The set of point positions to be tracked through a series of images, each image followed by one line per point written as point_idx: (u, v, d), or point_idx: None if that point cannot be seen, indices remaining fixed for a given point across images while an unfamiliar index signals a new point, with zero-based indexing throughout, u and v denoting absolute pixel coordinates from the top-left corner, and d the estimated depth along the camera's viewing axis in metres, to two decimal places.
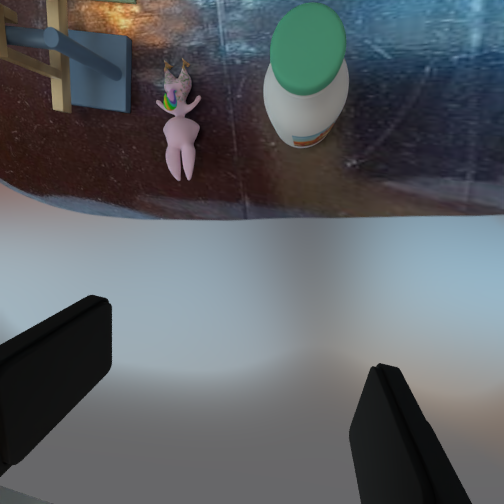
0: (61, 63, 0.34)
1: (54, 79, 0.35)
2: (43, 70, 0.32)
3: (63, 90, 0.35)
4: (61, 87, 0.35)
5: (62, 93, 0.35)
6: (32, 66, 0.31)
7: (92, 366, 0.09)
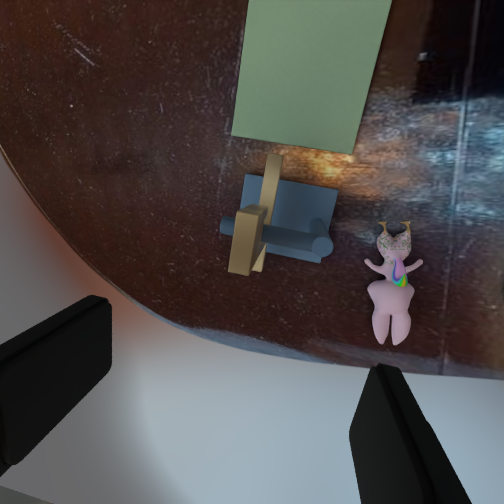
0: None
1: None
2: (263, 246, 0.28)
3: (265, 251, 0.31)
4: (263, 249, 0.30)
5: (264, 254, 0.31)
6: (261, 250, 0.26)
7: (92, 366, 0.09)
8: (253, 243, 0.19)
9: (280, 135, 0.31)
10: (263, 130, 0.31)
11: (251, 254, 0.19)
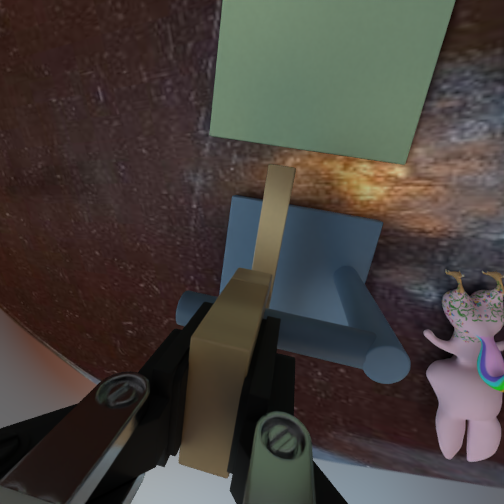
0: (273, 284, 0.18)
1: None
2: None
3: None
4: None
5: None
6: None
7: None
8: None
9: (286, 135, 0.19)
10: (259, 126, 0.19)
11: None
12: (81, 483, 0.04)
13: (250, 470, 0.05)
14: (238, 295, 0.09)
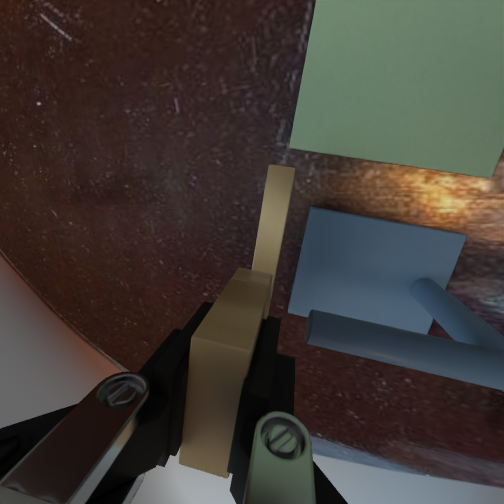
0: (273, 284, 0.18)
1: None
2: None
3: None
4: None
5: None
6: None
7: None
8: None
9: (370, 148, 0.19)
10: (342, 139, 0.19)
11: None
12: (81, 483, 0.04)
13: (250, 470, 0.05)
14: (238, 295, 0.09)
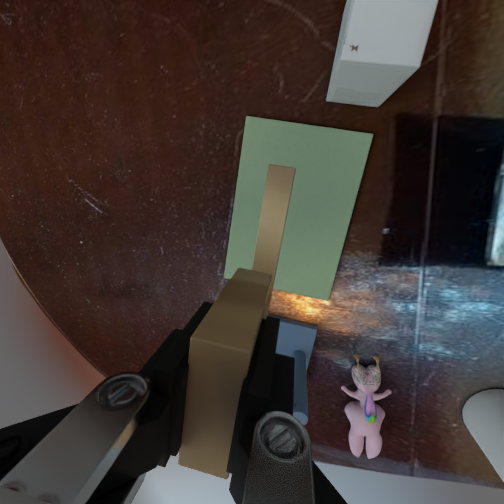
0: (273, 284, 0.18)
1: None
2: None
3: None
4: None
5: None
6: None
7: None
8: None
9: None
10: None
11: None
12: (82, 483, 0.04)
13: (249, 470, 0.05)
14: (238, 295, 0.09)
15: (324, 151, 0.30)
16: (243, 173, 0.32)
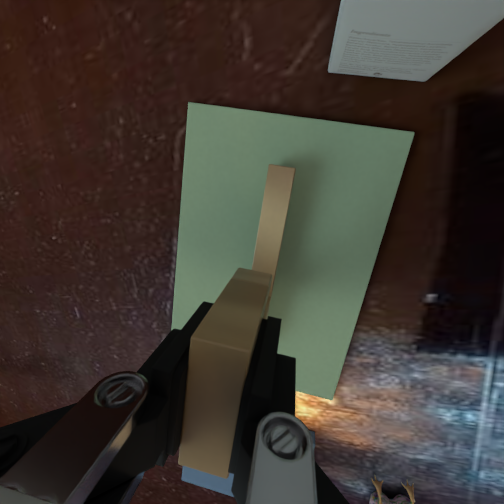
0: (273, 284, 0.18)
1: None
2: None
3: None
4: None
5: None
6: None
7: None
8: (237, 413, 0.07)
9: None
10: None
11: (233, 436, 0.07)
12: (80, 482, 0.04)
13: (251, 471, 0.05)
14: (238, 295, 0.09)
15: (325, 163, 0.17)
16: (189, 199, 0.19)
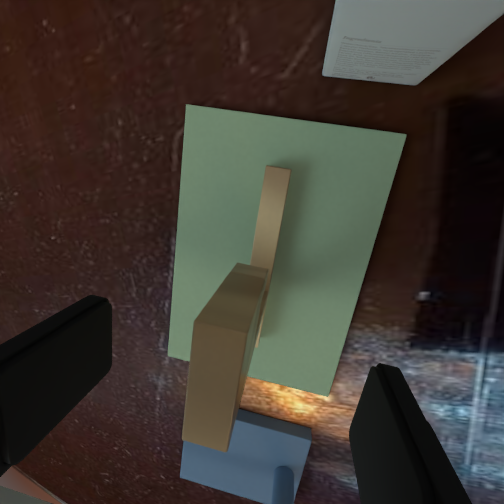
0: (270, 280, 0.19)
1: None
2: (261, 320, 0.17)
3: (263, 317, 0.20)
4: None
5: (262, 322, 0.20)
6: (257, 333, 0.15)
7: (92, 366, 0.09)
8: (236, 390, 0.08)
9: None
10: None
11: (232, 412, 0.08)
12: None
13: None
14: (236, 286, 0.10)
15: (320, 164, 0.17)
16: (187, 200, 0.19)
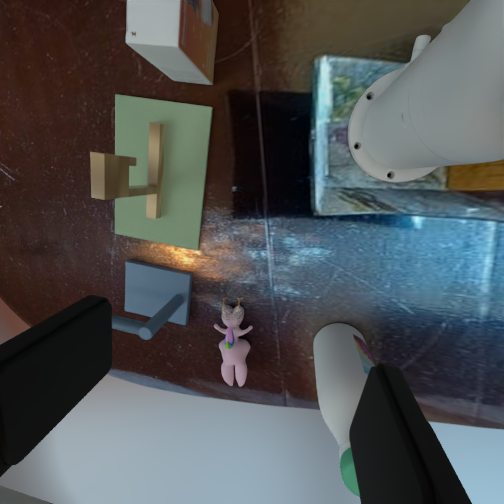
0: (158, 181, 0.38)
1: None
2: (147, 193, 0.36)
3: (157, 201, 0.39)
4: (155, 200, 0.39)
5: (156, 204, 0.39)
6: (141, 194, 0.35)
7: (92, 366, 0.09)
8: (104, 174, 0.27)
9: (147, 235, 0.42)
10: (135, 231, 0.42)
11: (104, 183, 0.28)
12: None
13: None
14: (114, 154, 0.29)
15: (177, 122, 0.37)
16: (118, 142, 0.39)
